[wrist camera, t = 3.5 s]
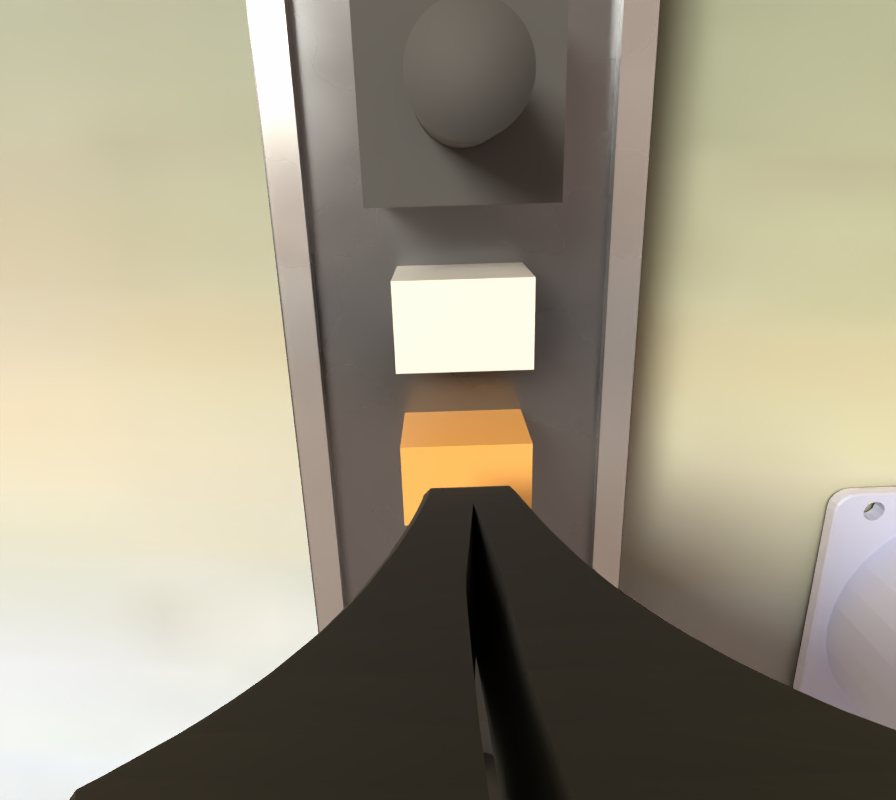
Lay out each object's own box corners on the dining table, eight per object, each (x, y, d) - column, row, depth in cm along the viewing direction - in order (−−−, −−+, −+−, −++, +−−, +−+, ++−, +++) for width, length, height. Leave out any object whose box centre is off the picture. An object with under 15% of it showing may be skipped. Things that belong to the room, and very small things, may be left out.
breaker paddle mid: (520, 408, 13) (533, 443, 12) (519, 478, 14) (531, 521, 12) (404, 412, 13) (400, 448, 12) (408, 481, 14) (404, 525, 12)
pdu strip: (634, -207, 12) (689, -312, 9) (580, 765, 20) (602, 855, 17) (256, -197, 12) (205, -301, 9) (354, 773, 20) (342, 865, 17)
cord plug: (542, 11, 11) (621, -107, 6) (539, 196, 12) (604, 212, 7) (366, 16, 11) (311, -99, 6) (377, 201, 12) (338, 221, 7)
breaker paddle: (522, 262, 12) (535, 276, 11) (521, 343, 13) (534, 370, 11) (396, 265, 12) (390, 281, 11) (401, 347, 13) (396, 374, 11)
